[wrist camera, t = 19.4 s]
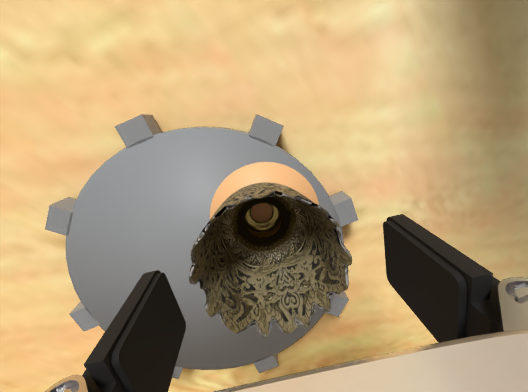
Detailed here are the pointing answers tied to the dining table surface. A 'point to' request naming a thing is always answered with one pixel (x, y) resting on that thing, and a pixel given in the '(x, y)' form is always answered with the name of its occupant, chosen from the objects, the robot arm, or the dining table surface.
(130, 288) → the index wheel
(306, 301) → the cup
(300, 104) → the dining table surface
